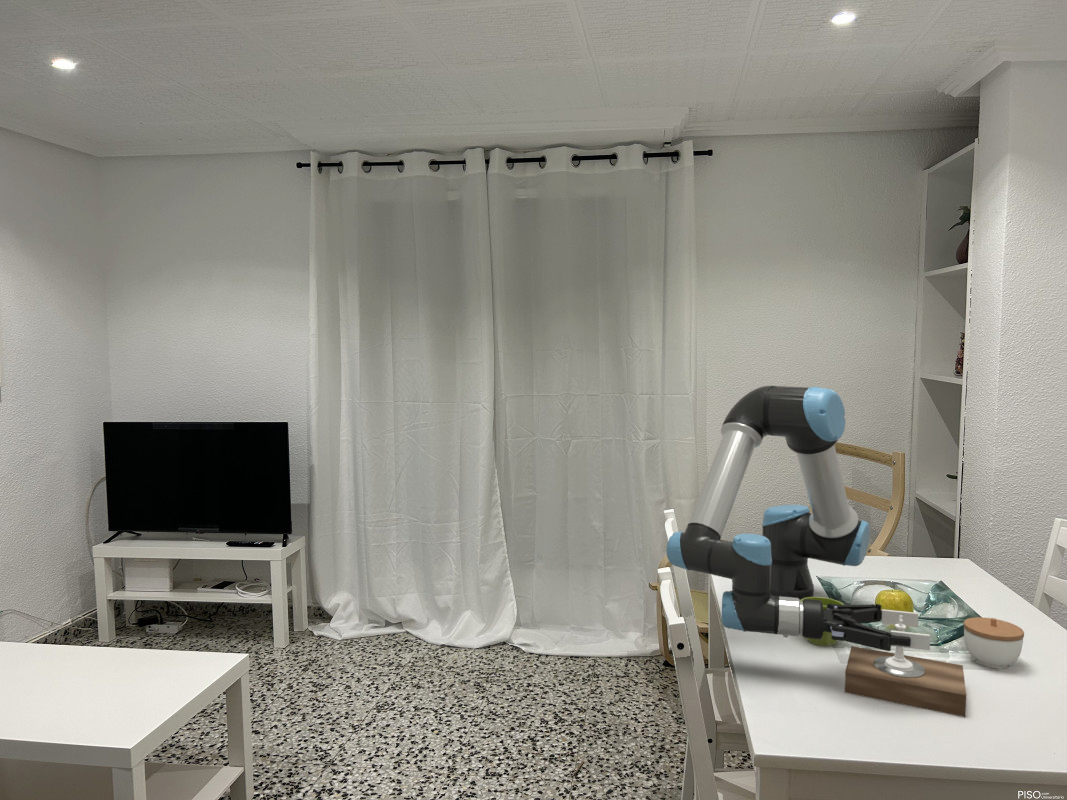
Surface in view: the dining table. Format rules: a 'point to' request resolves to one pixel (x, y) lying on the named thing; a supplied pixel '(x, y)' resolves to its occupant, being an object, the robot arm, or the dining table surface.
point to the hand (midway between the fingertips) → (923, 630)
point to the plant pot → (826, 636)
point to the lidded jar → (993, 641)
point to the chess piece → (899, 654)
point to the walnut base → (907, 681)
